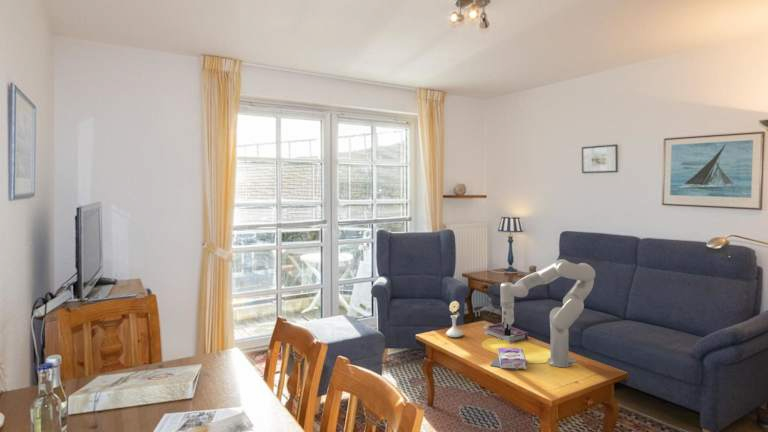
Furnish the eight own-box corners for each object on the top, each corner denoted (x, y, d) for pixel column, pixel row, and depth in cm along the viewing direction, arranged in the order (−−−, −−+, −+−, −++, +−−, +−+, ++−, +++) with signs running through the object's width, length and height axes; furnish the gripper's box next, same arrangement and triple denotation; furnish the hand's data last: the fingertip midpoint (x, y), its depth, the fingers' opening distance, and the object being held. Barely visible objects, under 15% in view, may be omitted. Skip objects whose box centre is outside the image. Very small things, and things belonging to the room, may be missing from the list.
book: (483, 333, 307) (483, 326, 307) (501, 329, 314) (501, 322, 314) (509, 344, 284) (509, 336, 284) (527, 339, 292) (527, 332, 291)
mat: (520, 362, 253) (520, 361, 253) (515, 370, 243) (515, 369, 243) (495, 358, 260) (495, 357, 260) (490, 366, 249) (490, 365, 249)
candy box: (522, 348, 257) (526, 358, 241) (522, 358, 258) (526, 369, 241) (497, 347, 260) (500, 358, 244) (498, 357, 260) (500, 368, 244)
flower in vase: (443, 334, 306) (442, 298, 304) (458, 332, 309) (457, 297, 308) (451, 340, 293) (450, 303, 292) (467, 338, 297) (466, 301, 295)
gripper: (510, 308, 247) (511, 340, 248) (516, 301, 260) (517, 332, 261) (497, 306, 250) (497, 338, 252) (504, 300, 263) (504, 331, 265)
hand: (507, 335), depth 256 cm, fingers closed
